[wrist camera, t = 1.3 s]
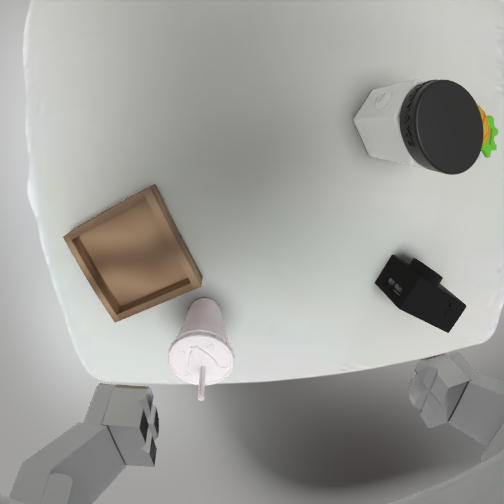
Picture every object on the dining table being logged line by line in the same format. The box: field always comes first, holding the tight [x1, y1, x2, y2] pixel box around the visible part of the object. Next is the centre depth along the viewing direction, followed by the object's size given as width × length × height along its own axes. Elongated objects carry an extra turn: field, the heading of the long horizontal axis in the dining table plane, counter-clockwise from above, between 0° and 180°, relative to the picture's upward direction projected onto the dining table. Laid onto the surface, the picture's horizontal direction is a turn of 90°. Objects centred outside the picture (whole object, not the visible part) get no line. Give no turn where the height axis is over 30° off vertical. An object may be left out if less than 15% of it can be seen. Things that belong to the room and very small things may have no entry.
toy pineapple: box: [477, 105, 498, 157], centre depth 30 cm, size 7×10×5 cm
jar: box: [354, 80, 484, 175], centre depth 27 cm, size 9×8×12 cm
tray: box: [63, 185, 202, 322], centre depth 34 cm, size 12×12×2 cm
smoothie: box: [168, 298, 235, 401], centre depth 32 cm, size 6×6×14 cm
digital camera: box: [375, 255, 466, 333], centre depth 36 cm, size 10×5×7 cm, turn 63°
